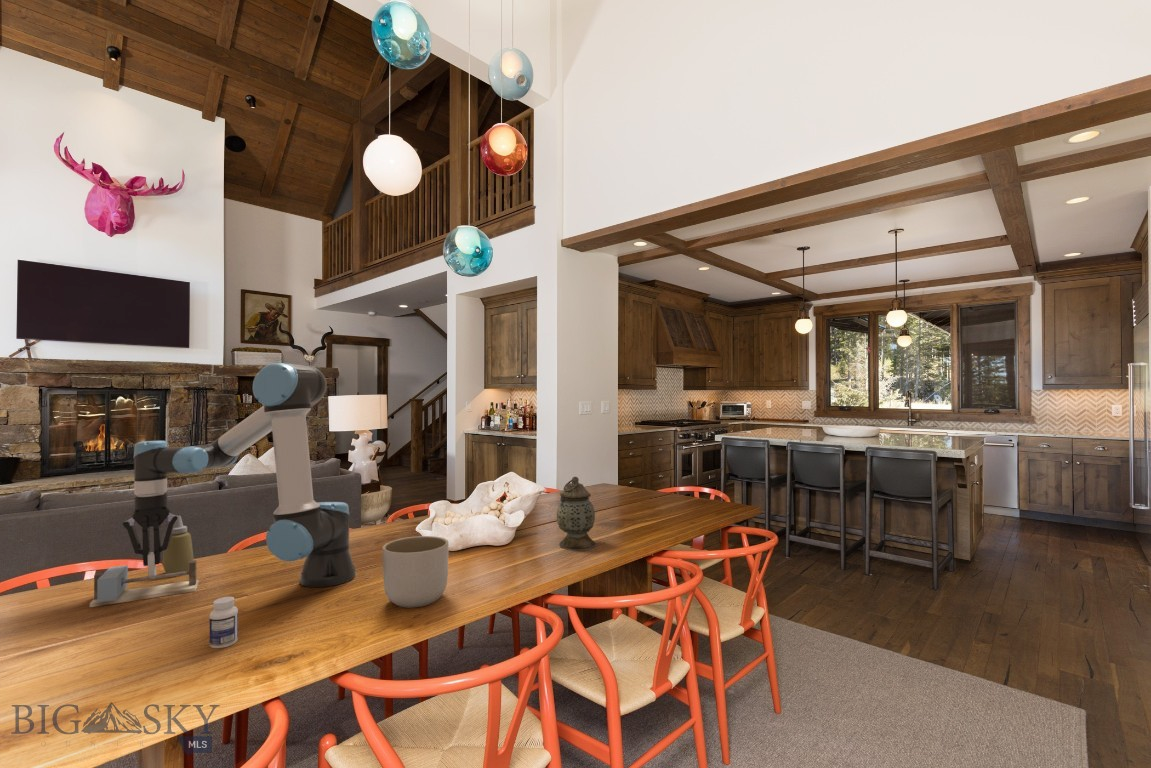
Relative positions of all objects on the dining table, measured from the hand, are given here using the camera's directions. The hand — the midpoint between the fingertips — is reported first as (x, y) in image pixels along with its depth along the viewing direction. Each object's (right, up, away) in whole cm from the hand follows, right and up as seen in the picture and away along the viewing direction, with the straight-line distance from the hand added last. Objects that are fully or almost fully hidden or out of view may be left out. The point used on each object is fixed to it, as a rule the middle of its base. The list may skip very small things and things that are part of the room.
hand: (152, 576), depth 156 cm
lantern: (+123, -4, +41) cm, 130 cm away
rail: (+2, -4, -4) cm, 6 cm away
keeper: (-5, -2, -8) cm, 9 cm away
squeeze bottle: (-3, -4, +15) cm, 16 cm away
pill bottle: (+44, -3, -35) cm, 56 cm away
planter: (+80, -3, -11) cm, 81 cm away
